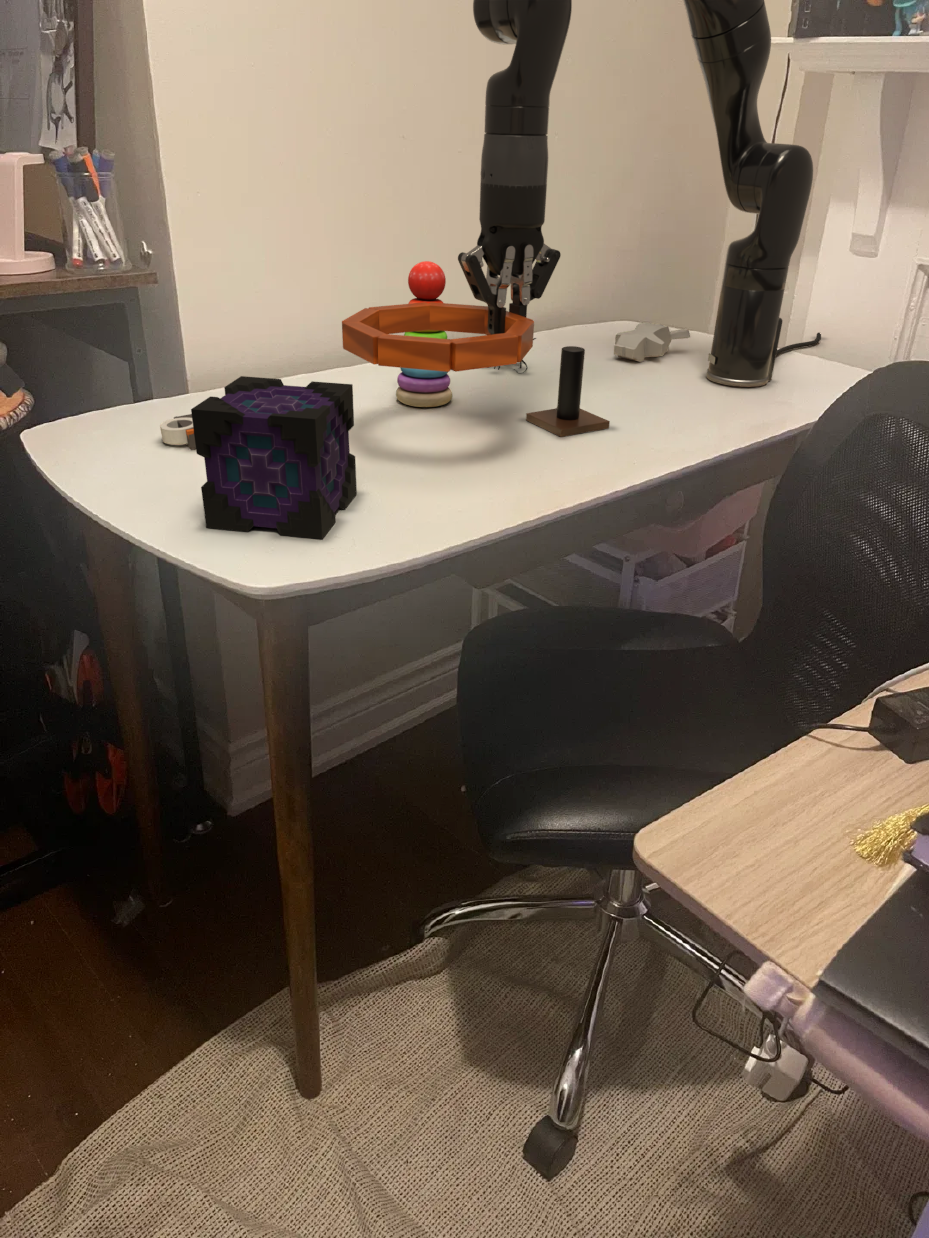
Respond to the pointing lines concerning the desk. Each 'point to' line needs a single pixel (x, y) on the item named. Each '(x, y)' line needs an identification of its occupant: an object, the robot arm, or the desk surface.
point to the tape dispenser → (179, 431)
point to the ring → (376, 344)
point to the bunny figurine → (646, 341)
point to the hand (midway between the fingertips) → (506, 336)
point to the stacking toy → (419, 383)
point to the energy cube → (276, 456)
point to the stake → (569, 400)
